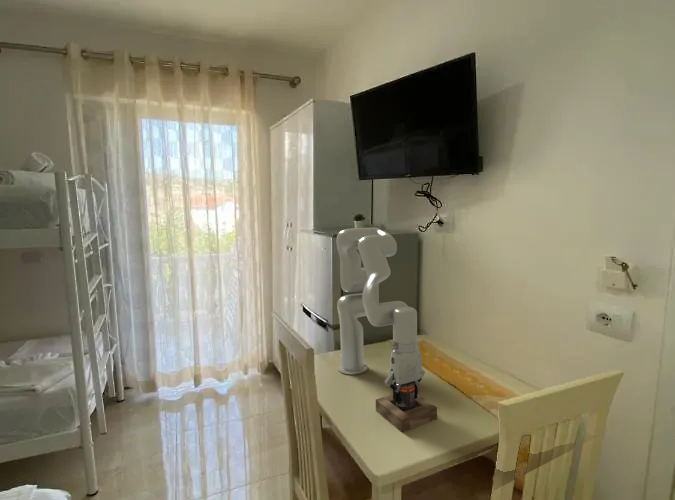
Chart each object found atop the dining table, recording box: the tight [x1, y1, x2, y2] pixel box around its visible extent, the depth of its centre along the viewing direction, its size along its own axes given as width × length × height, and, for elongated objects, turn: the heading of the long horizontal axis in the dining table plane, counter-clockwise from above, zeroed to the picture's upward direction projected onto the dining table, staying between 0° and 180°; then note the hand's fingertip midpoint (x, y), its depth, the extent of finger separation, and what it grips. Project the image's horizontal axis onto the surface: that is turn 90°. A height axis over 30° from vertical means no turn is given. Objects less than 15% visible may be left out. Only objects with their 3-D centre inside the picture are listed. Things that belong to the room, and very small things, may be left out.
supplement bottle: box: [396, 382, 415, 412], centre depth 122 cm, size 6×6×11 cm
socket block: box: [375, 393, 438, 433], centre depth 123 cm, size 14×14×4 cm
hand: (405, 398), depth 122 cm, fingers closed on supplement bottle, 5 cm apart
